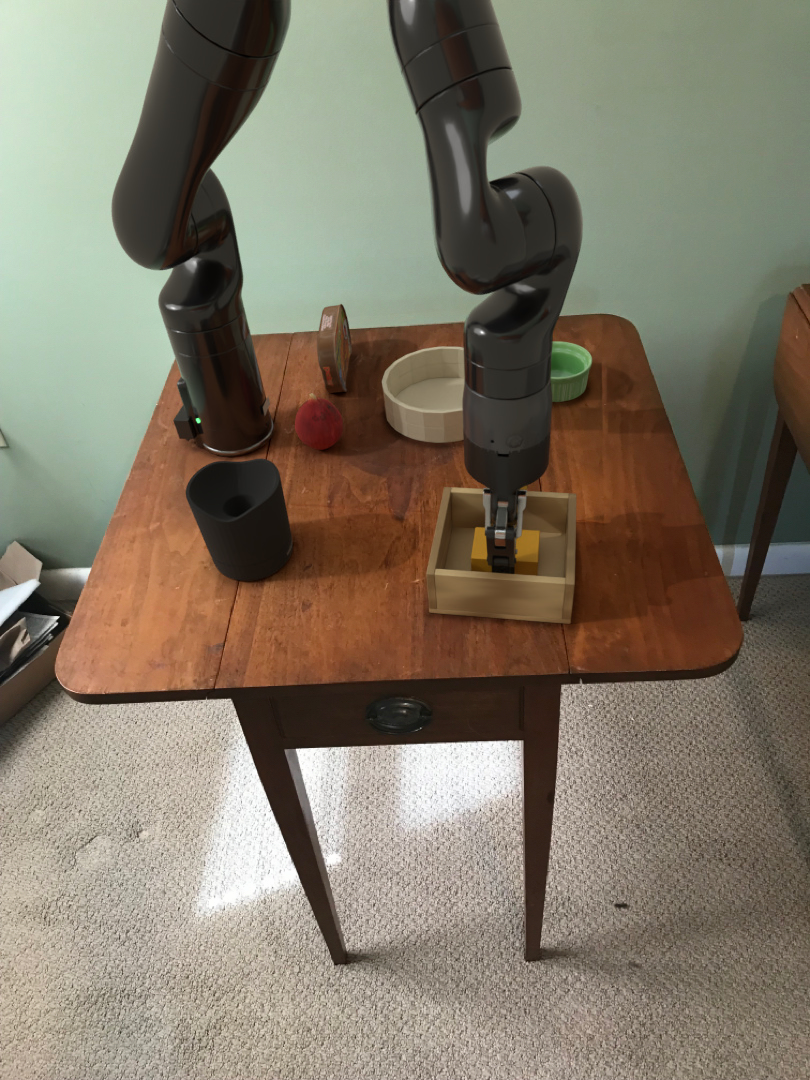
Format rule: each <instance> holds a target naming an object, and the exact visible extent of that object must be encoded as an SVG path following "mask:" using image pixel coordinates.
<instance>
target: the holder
mask: <svg viewBox="0 0 810 1080" xmlns="http://www.w3.org/2000/svg"><path fill="white" fill-rule="evenodd" d="M483 489H484V488H474V487H454V486H453V487H451V486H444V487H443V490H442V495H441V501H440V505H439V510H438V515H437V519H436V524H435V529H434V533H433V538H432V543H431V549H430V553H429V557H428V562H427V567H426V572H425V577H426V589H427V598H428V599H427V601H428V611H429V613H430V614H439V615H440V614H442V615H453V616H465V617H478V618H491V619H501V620H515V621H516V620H517V621H528V622H540V623H541V622H542V623H552V624H565V625H567V624H568V625H570V624H571V623H572V614H573V605H574V596H575V586H576V548H577V547H576V544H577V543H576V541H577V540H576V539H577V501H578V500H577V499H578V498H577V493H568V492H554V491H552V492H550V491H536V490H535V491H532V490H527V501H526V508H525V509H524V510H523V528H522V530H536V531H540V542H539V559H538V575H537V576H533V575H519V574H505V573H490V572H476V571H471V554H472V547H473V541H474V534H475V528H476V527H482V528H485V508H484V507H483ZM492 521H493V523H495V524H496V521H495V520H494V519H493V517H492Z"/></svg>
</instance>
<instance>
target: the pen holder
mask: <svg viewBox="0 0 810 1080" xmlns="http://www.w3.org/2000/svg"><path fill="white" fill-rule="evenodd" d="M185 497H186V501H187V503H188V506H189V508H190V510H191V513H192V515H193V518H194V520H195V523H196V525H197V527H198V529H199V532H200V535H201V536H202V540H203V541H204V544H205V547H206V548H207V551H208V553H209V555H210V558H211V560H212V562H213V564H214V566H215V568H216V569H217V571H218V572H219V573H221V574H222V575H223V576H225V577H226V578H229V579H231V580H234V581H239V582H253V581H258V580H262V579H265V578H267V577H270V576H272V575H274V574H275V573H277V572H279V570H281V569H282V568H283V567H284V566H285V565H286V564H287V562H288V561H289V560H290V558H291V556H292V554H293V549H294V541H293V536H292V530H291V524H290V520H289V514H288V509H287V503H286V498H285V494H284V489H283V484H282V479H281V474H280V470H279V469H278V467H277V466H276V464H275V463H273V461H271V460H269V459H266V458H253V459H248V460H243V461H242V460H241V461H240V460H239V461H236V460H235V461H234V460H218V461H214V462H210V463H208V464H205V465H204V466H202V467H201V468H199V469H198V470H197V471H196V472H195V473H194V474H193V475H192V476H191V477H190V479H189V480H188V482H187V485H186V488H185Z"/></svg>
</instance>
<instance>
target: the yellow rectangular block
mask: <svg viewBox="0 0 810 1080" xmlns="http://www.w3.org/2000/svg"><path fill="white" fill-rule="evenodd" d="M539 542H540V531H536V530H522V535H521V537H519V538H517V542H516V549H518V552H517V554H516V563H515V574H519V575H533V576H537V575H538V559H539ZM471 571H476V572H490V573H492V566H489V565H488V562H487V544H486V536H485V528H482V527H476V528H475V534H474V541H473V547H472V554H471Z"/></svg>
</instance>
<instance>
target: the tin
mask: <svg viewBox="0 0 810 1080" xmlns="http://www.w3.org/2000/svg"><path fill="white" fill-rule="evenodd" d="M349 324H350V323H349V319H348V315H347V311H346V308H345V307H344V304H342V303H339V304H335V305H329V306H328V305H327V306H325V307H323V309H322V312H321V316H320V321H319V326H318V331H317V332H318V333H317V338H316V353H317V362H318V366H319V369H320V372H321V375H322V379H323V383H324V389H325V391H326V392H327V393H329V394H332V393H343V392H344V393H348V389H347V388H346V382H347V377H348V370H349V363H350V357H351V354H352V353H353V345H352V344H353V343H352V336H351V335H352V334H351V330H350V325H349Z"/></svg>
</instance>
